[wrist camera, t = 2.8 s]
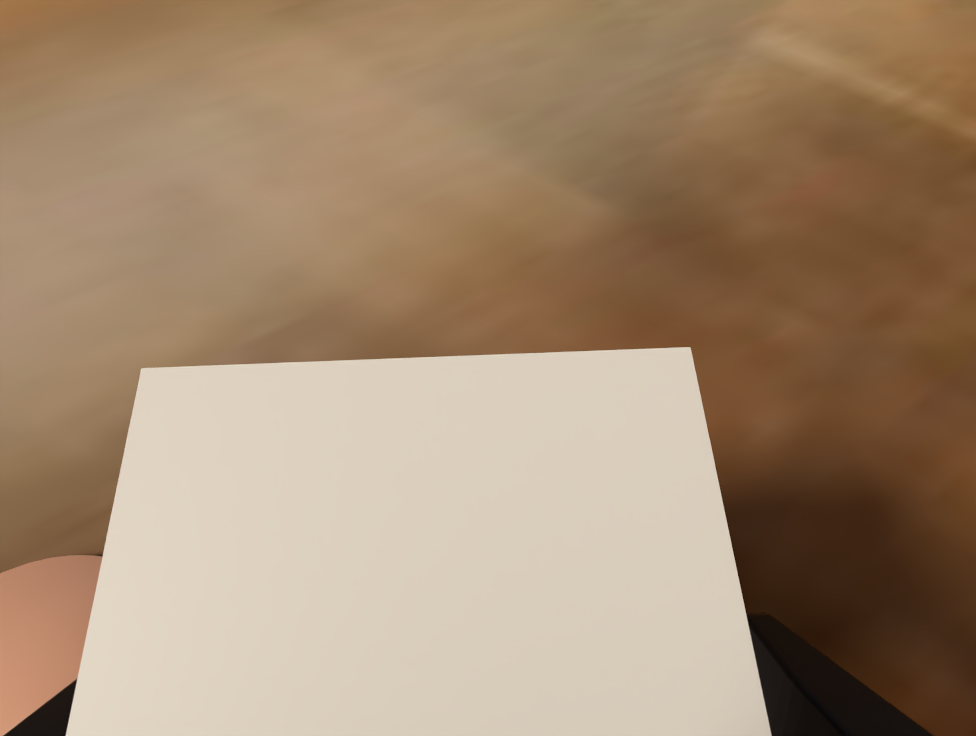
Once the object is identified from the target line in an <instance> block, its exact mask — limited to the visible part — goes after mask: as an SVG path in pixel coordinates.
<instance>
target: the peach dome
mask: <svg viewBox="0 0 976 736" xmlns="http://www.w3.org/2000/svg"><path fill="white" fill-rule="evenodd" d="M101 562H102V557H101V556H91V555H70V556H62V557H53V558H48V559H43V560H39V561H35V562H31V563H27V564H24V565H22V566H19V567H16V568H13V569H11V570H8V571H5V572H3V573H1V574H0V736H3V735H5V734H6V733H7V732H8V731H10V730H11V729H12V728H14V727H15V726H16V725H18V724H19V723H20V722H21V721H23V720H24V719H25V718H27V717H28V716H29V715H30V714H32V713H33V712H34V711H36V710H37V709H38V708H39V707H41V706H42V705H43V704H45V703H46V702H47V701H49V700H50V699H51V698H52V697H54V696H55V695H56V694H58V693H59V692H60V691H61V690H63V689H64V688H65V687H67V686H68V685H69V684H71V683H72V682H73V681H74V680H76V679H77V678H78V673H79V669H80V664H81V659H82V654H83V649H84V644H85V640H86V635H87V630H88V625H89V620H90V615H91V611H92V606H93V601H94V596H95V591H96V586H97V581H98V577H99V572H100V567H101Z"/></svg>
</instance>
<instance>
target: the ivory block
mask: <svg viewBox="0 0 976 736" xmlns="http://www.w3.org/2000/svg"><path fill="white" fill-rule="evenodd" d="M66 736H772V735H771V731H770V726H769V721H768V716H767V711H766V707H765V702H764V697H763V692H762V687H761V683H760V678H759V673H758V668H757V664H756V659H755V654H754V649H753V644H752V640H751V635H750V630H749V625H748V621H747V616H746V611H745V606H744V601H743V597H742V592H741V587H740V582H739V577H738V573H737V568H736V563H735V558H734V554H733V549H732V544H731V539H730V534H729V530H728V525H727V520H726V515H725V511H724V506H723V501H722V496H721V491H720V487H719V482H718V477H717V472H716V467H715V463H714V458H713V453H712V448H711V444H710V439H709V434H708V429H707V424H706V420H705V415H704V410H703V405H702V401H701V396H700V391H699V386H698V381H697V377H696V372H695V367H694V362H693V357H692V353H691V348H690V347H683V348H657V349H631V350H605V351H579V352H553V353H527V354H501V355H475V356H449V357H422V358H397V359H371V360H345V361H319V362H293V363H267V364H241V365H215V366H189V367H162V368H141V373H140V378H139V383H138V388H137V393H136V398H135V402H134V407H133V412H132V417H131V422H130V427H129V431H128V436H127V441H126V446H125V451H124V456H123V460H122V465H121V470H120V475H119V480H118V485H117V489H116V494H115V499H114V504H113V509H112V514H111V519H110V523H109V528H108V533H107V538H106V543H105V548H104V552H103V557H102V562H101V567H100V572H99V577H98V581H97V586H96V591H95V596H94V601H93V606H92V611H91V615H90V620H89V625H88V630H87V635H86V640H85V644H84V649H83V654H82V659H81V664H80V669H79V673H78V678H77V683H76V688H75V693H74V698H73V702H72V707H71V712H70V717H69V722H68V727H67V732H66Z"/></svg>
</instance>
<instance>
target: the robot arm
mask: <svg viewBox="0 0 976 736" xmlns="http://www.w3.org/2000/svg"><path fill="white" fill-rule="evenodd" d="M746 616H747V621H748V625H749V630H750V635H751V640H752V644H753V649H754V654H755V659H756V664H757V668H758V673H759V678H760V683H761V687H762V692H763V697H764V702H765V707H766V711H767V716H768V721H769V726H770V731H771V735H772V736H933V735H932V734H931V733H929V732H928V731H927V730H925V729H924V728H923V727H921V726H920V725H919V724H917V723H916V722H915V721H913V720H912V719H911V718H909V717H908V716H906V715H905V714H904V713H902V712H901V711H900V710H898V709H897V708H896V707H894V706H893V705H892V704H890V703H889V702H888V701H886V700H885V699H884V698H882V697H881V696H879V695H878V694H877V693H875V692H874V691H873V690H871V689H870V688H869V687H867V686H866V685H865V684H863V683H862V682H861V681H859V680H858V679H857V678H855V677H854V676H852V675H851V674H850V673H848V672H847V671H846V670H844V669H843V668H842V667H840V666H839V665H838V664H836V663H835V662H834V661H832V660H831V659H830V658H828V657H827V656H825V655H824V654H823V653H821V652H820V651H819V650H817V649H816V648H815V647H813V646H812V645H811V644H809V643H808V642H807V641H805V640H804V639H803V638H801V637H800V636H798V635H797V634H796V633H794V632H793V631H792V630H790V629H789V628H788V627H786V626H785V625H784V624H782V623H781V622H780V621H778V620H777V619H776V618H774V617H773V616H771V615H769V614H767V613H751V614H746ZM76 683H77V679H76V680H74V681H73V682H72V683H71V684H69V685H68V686H67V687H65V688H64V689H63V690H61V691H60V692H59V693H58V694H56V695H55V696H54V697H52V698H51V699H50V700H49V701H47V702H46V703H45V704H43V705H42V706H41V707H39V708H38V709H37V710H36V711H34V712H33V713H32V714H30V715H29V716H28V717H27V718H25V719H24V720H23V721H21V722H20V723H19V724H18V725H16V726H15V727H14V728H12V729H11V730H10V731H8V732H7V733H6V734H5V735H3V736H66V732H67V727H68V722H69V717H70V712H71V707H72V702H73V698H74V693H75V688H76Z"/></svg>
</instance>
